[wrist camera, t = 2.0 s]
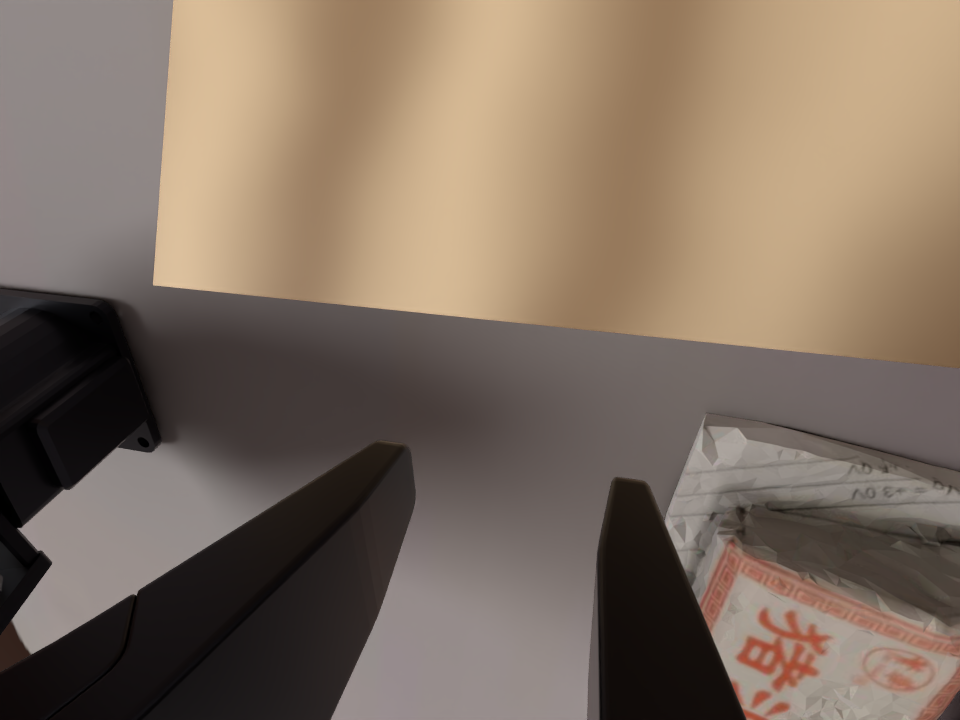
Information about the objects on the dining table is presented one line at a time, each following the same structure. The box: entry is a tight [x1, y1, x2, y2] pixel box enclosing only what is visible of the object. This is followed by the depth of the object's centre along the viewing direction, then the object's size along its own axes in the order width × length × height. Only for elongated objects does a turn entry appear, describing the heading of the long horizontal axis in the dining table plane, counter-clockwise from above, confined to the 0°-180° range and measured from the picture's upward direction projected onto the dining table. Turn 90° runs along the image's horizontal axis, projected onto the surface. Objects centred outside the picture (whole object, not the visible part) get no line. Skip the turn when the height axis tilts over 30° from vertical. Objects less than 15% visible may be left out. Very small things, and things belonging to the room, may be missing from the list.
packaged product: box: [664, 413, 960, 720], centre depth 23 cm, size 18×5×10 cm
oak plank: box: [153, 0, 960, 368], centre depth 15 cm, size 20×7×2 cm
